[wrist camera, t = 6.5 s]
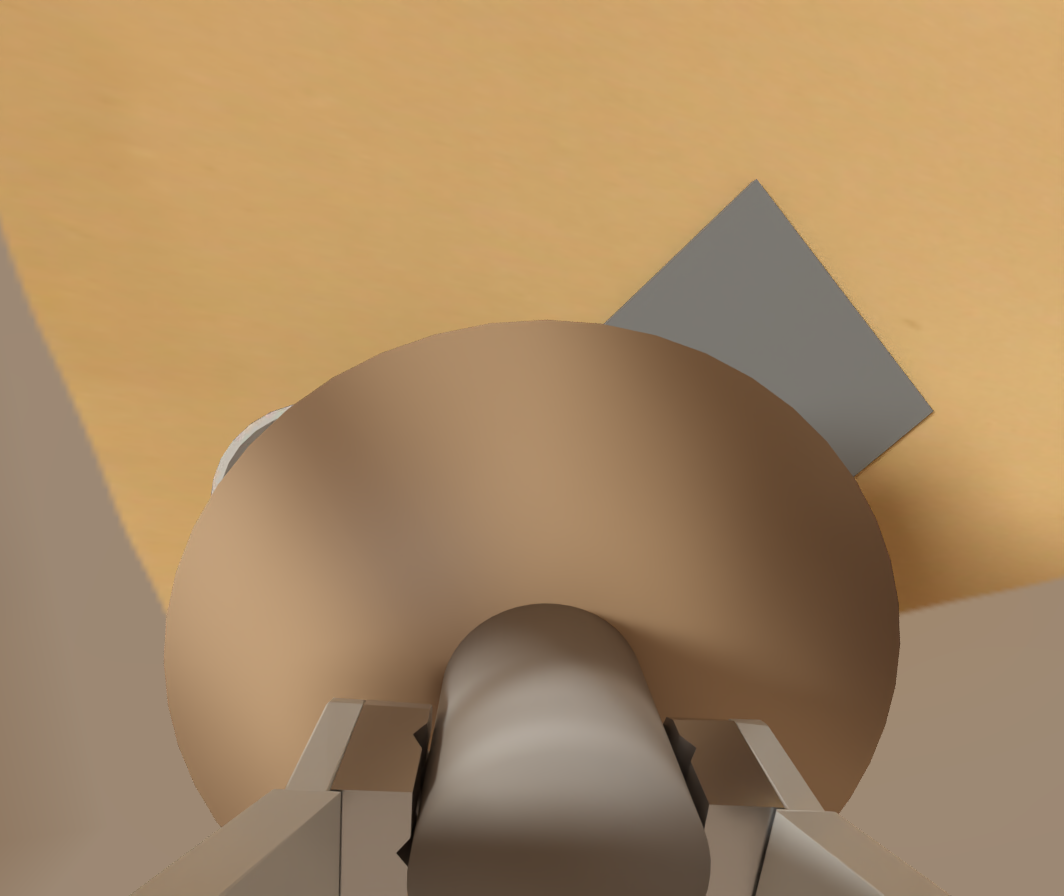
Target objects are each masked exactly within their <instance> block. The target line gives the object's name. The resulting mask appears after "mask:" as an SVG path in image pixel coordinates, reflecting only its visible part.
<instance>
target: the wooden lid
mask: <svg viewBox="0 0 1064 896" xmlns="http://www.w3.org/2000/svg"><path fill="white" fill-rule="evenodd" d="M899 634H900V633H899V604H898V597H897V592H896V587H895V581H894V576H893V570H892V565H891V560H890V557H889V554H888V551H887V549H886V546H885V543H884V540H883V537H882V534H881V531H880V528H879V526H878V523H877V520H876V518H875V516H874V514H873V512H872V510H871V508H870V506H869V505H868V503H867V501H866V499H865V497H864V495H863V493H862V491H861V489H860V488H859V486H858V484H857V482H856V480H855V478H854V477H853V476H852V474H851V473H850V472H849V470H848V469H847V468H846V466H845V465H844V464H843V462H842V461H841V460H840V458H839V457H838V456H837V454H836V453H835V452H834V450H833V449H832V448H831V446H830V445H829V443H828V442H827V441H826V440H825V439H824V438H823V437H822V436H821V435H820V434H819V433H818V432H817V431H816V430H815V429H814V428H813V427H812V426H811V425H810V424H809V423H808V422H807V421H806V420H805V419H804V418H803V417H802V416H801V415H800V414H799V413H798V412H797V411H796V410H795V409H794V408H793V407H791V406H790V405H789V404H787V403H786V402H784V401H783V400H782V399H780V398H779V397H778V396H776V395H775V394H774V393H772V392H771V391H769V390H768V389H767V388H765V387H764V386H763V385H761V384H760V383H759V382H757V381H756V380H754V379H753V378H752V377H750V376H748V375H746V374H744V373H742V372H740V371H738V370H737V369H735V368H733V367H731V366H729V365H727V364H725V363H723V362H721V361H720V360H718V359H716V358H714V357H712V356H710V355H708V354H706V353H704V352H701V351H698V350H695V349H693V348H690V347H687V346H684V345H682V344H679V343H676V342H673V341H670V340H668V339H665V338H662V337H659V336H657V335H652V334H648V333H643V332H638V331H633V330H629V329H624V328H619V327H615V326H610V325H605V324H597V323H583V322H569V321H555V320H537V321H521V322H505V323H490V324H485V325H480V326H475V327H470V328H465V329H460V330H455V331H450V332H445V333H440V334H435V335H432V336H429V337H426V338H423V339H420V340H417V341H415V342H412V343H409V344H406V345H403V346H400V347H397V348H394V349H391V350H389V351H386V352H383V353H380V354H378V355H377V356H375V357H373V358H371V359H369V360H367V361H365V362H363V363H361V364H359V365H357V366H355V367H353V368H351V369H349V370H347V371H345V372H343V373H341V374H339V375H337V376H335V377H333V378H332V379H330V380H329V381H327V382H326V383H324V384H323V385H322V386H320V387H319V388H317V389H316V390H314V391H313V392H312V393H310V394H309V395H307V396H306V397H304V398H303V399H301V400H300V401H299V402H297V403H296V404H294V405H293V406H291V407H290V408H289V409H287V410H286V411H285V412H284V413H283V414H282V415H281V416H280V417H279V418H278V419H277V420H276V421H275V422H273V423H272V424H271V425H270V426H269V427H268V428H267V429H266V430H265V431H264V432H263V433H262V434H261V435H260V436H259V437H257V438H256V439H255V440H254V441H253V442H252V443H251V444H250V445H249V446H248V447H247V449H246V450H245V451H244V453H243V454H242V455H241V456H240V458H239V459H238V460H237V461H236V463H235V464H234V465H233V466H232V468H231V469H230V470H229V471H228V473H227V474H226V475H225V476H224V478H223V479H222V480H221V481H220V483H219V484H218V485H217V487H216V489H215V491H214V492H213V494H212V496H211V498H210V499H209V501H208V503H207V505H206V506H205V508H204V510H203V511H202V513H201V515H200V517H199V518H198V520H197V522H196V524H195V525H194V527H193V530H192V532H191V535H190V537H189V540H188V542H187V545H186V548H185V550H184V553H183V555H182V558H181V561H180V563H179V566H178V568H177V571H176V575H175V579H174V584H173V589H172V593H171V598H170V603H169V607H168V612H167V616H166V633H165V650H164V669H165V679H166V689H167V699H168V707H169V711H170V714H171V719H172V723H173V726H174V730H175V734H176V738H177V742H178V746H179V749H180V751H181V753H182V756H183V758H184V761H185V763H186V765H187V768H188V770H189V773H190V775H191V777H192V780H193V782H194V784H195V786H196V788H197V790H198V791H199V793H200V795H201V796H202V798H203V799H204V801H205V803H206V805H207V806H208V808H209V809H210V811H211V813H212V815H213V817H214V818H215V820H216V821H217V823H218V824H219V825H220V826H221V827H223V826H224V825H225V824H227V823H228V822H229V821H231V820H232V819H233V818H235V817H236V816H237V815H239V814H240V813H241V812H243V811H244V810H246V809H247V808H248V807H250V806H251V805H252V804H254V803H255V802H256V801H258V800H259V799H260V798H262V797H263V796H264V795H266V794H267V793H269V792H270V791H271V790H273V789H285V787H286V785H287V783H288V781H289V779H290V777H291V775H292V773H293V771H294V769H295V767H296V765H297V763H298V761H299V759H300V757H301V755H302V753H303V751H304V749H305V747H306V745H307V743H308V741H309V739H310V737H311V735H312V732H313V730H314V728H315V726H316V724H317V722H318V720H319V718H320V716H321V714H322V712H323V710H324V708H325V706H326V704H327V703H328V702H329V701H330V700H331V699H332V698H346V699H360V700H380V701H393V702H406V703H419V704H432V729H431V734H430V740H429V745H428V750H429V757H428V763H427V768H426V773H425V779H424V784H423V789H422V795H421V800H420V805H419V811H418V816H417V821H416V827H415V832H414V837H413V843H412V848H411V853H410V859H409V864H408V869H407V893H408V896H706V893H707V890H708V885H709V879H710V870H711V857H710V850H709V844H708V840H707V837H706V834H705V831H704V828H703V825H702V823H701V820H700V818H699V815H698V813H697V810H696V807H695V805H694V802H693V800H692V797H691V795H690V792H689V790H688V787H687V785H686V782H685V779H684V777H683V774H682V772H681V769H680V767H679V764H678V762H677V759H676V756H675V754H674V751H673V749H672V746H671V744H670V741H669V739H668V736H667V734H666V731H665V728H664V726H663V723H664V721H665V719H666V717H680V718H703V719H725V720H729V719H755V720H761V721H763V722H764V723H766V724H767V725H768V726H769V728H770V729H771V731H772V732H773V734H774V735H775V737H776V738H777V740H778V741H779V743H780V744H781V746H782V747H783V749H784V750H785V752H786V753H787V755H788V756H789V758H790V759H791V761H792V762H793V764H794V765H795V767H796V768H797V770H798V771H799V773H800V774H801V776H802V777H803V779H804V780H805V782H806V783H807V785H808V786H809V788H810V789H811V791H812V792H813V794H814V795H815V797H816V798H817V800H818V801H819V803H820V804H821V806H822V807H823V809H824V810H825V811H830V812H836V813H838V814H839V813H840V811H841V810H842V808H843V807H844V805H845V804H846V803H847V802H848V800H849V799H850V797H851V796H852V794H853V792H854V790H855V789H856V787H857V785H858V783H859V781H860V780H861V778H862V776H863V774H864V773H865V771H866V769H867V767H868V765H869V764H870V762H871V759H872V756H873V754H874V752H875V749H876V747H877V744H878V742H879V739H880V737H881V734H882V732H883V729H884V727H885V724H886V720H887V716H888V712H889V708H890V705H891V701H892V697H893V693H894V689H895V684H896V675H897V666H898V657H899V648H900V635H899Z"/></svg>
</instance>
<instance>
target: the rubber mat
mask: <svg viewBox="0 0 1064 896" xmlns="http://www.w3.org/2000/svg"><path fill="white" fill-rule="evenodd" d="M604 324H605V325H610V326H615V327H619V328H624V329H629V330H633V331H638V332H643V333H648V334H652V335H657V336H659V337H662V338H665V339H668V340H670V341H673V342H676V343H679V344H682V345H684V346H687V347H690V348H693V349H695V350H698V351H701V352H704V353H706V354H708V355H710V356H712V357H714V358H716V359H718V360H720V361H721V362H723V363H725V364H727V365H729V366H731V367H733V368H735V369H737V370H738V371H740V372H742V373H744V374H746V375H748V376H750V377H752V378H753V379H754V380H756V381H757V382H759V383H760V384H761V385H763V386H764V387H765V388H767V389H768V390H769V391H771V392H772V393H774V394H775V395H776V396H778V397H779V398H780V399H782V400H783V401H784V402H786V403H787V404H789V405H790V406H791V407H793V408H794V409H795V410H796V411H797V412H798V413H799V414H800V415H801V416H802V417H803V418H804V419H805V420H806V421H807V422H808V423H809V424H810V425H811V426H812V427H813V428H814V429H815V430H816V431H817V432H818V433H819V434H820V435H821V436H822V437H823V438H824V439H825V440H826V441H827V442H828V443H829V445H830V446H831V448H832V449H833V450H834V452H835V453H836V454H837V456H838V457H839V458H840V460H841V461H842V462H843V464H844V465H845V466H846V468H847V469H848V470H849V472H850V473H851V474H852V476H853V477H854V476H855V475H856V474H858V473H859V472H860V471H861V470H862V469H864V468H865V467H866V466H867V465H869V464H870V463H871V462H872V461H873V460H875V459H876V458H877V457H878V456H879V455H881V454H882V453H883V452H884V451H886V450H887V449H888V448H889V447H890V446H892V445H893V444H894V443H895V442H896V441H898V440H899V439H900V438H901V437H903V436H904V435H905V434H906V433H907V432H909V431H910V430H911V429H912V428H913V427H915V426H916V425H917V424H918V423H920V422H921V421H922V420H923V419H924V418H926V417H927V416H928V415H929V414H930V413H932V412H933V410H932V409H931V407H930V406H929V405H928V403H927V402H926V401H925V399H924V398H923V397H922V395H921V394H920V393H919V392H918V390H917V389H916V388H915V386H914V385H913V384H912V382H911V381H910V380H909V378H908V377H907V376H906V374H905V373H904V372H903V371H902V369H901V368H900V367H899V365H898V364H897V363H896V361H895V360H894V359H893V357H892V356H891V355H890V353H889V352H888V351H887V350H886V348H885V347H884V346H883V344H882V343H881V342H880V340H879V339H878V338H877V336H876V335H875V334H874V332H873V331H872V330H871V329H870V327H869V326H868V325H867V323H866V322H865V321H864V319H863V318H862V317H861V315H860V314H859V313H858V312H857V310H856V309H855V308H854V306H853V305H852V304H851V302H850V301H849V300H848V298H847V297H846V296H845V294H844V293H843V292H842V291H841V289H840V288H839V287H838V285H837V284H836V283H835V281H834V280H833V279H832V277H831V276H830V275H829V273H828V272H827V271H826V270H825V268H824V267H823V266H822V264H821V263H820V262H819V260H818V259H817V258H816V256H815V255H814V254H813V252H812V251H811V250H810V249H809V247H808V246H807V245H806V243H805V242H804V241H803V239H802V238H801V237H800V235H799V234H798V233H797V231H796V230H795V229H794V228H793V226H792V225H791V224H790V222H789V221H788V220H787V218H786V217H785V216H784V214H783V213H782V212H781V211H780V209H779V208H778V207H777V205H776V204H775V203H774V201H773V200H772V199H771V197H770V196H769V195H768V193H767V192H766V191H765V190H764V188H763V187H762V186H761V184H760V183H759V182H758V180H757V179H756V180H754V181H753V182H751V183H750V184H749V185H748V186H747V187H746V188H745V189H744V190H743V191H742V192H741V193H740V194H739V195H738V196H737V197H736V198H735V199H734V200H733V201H732V202H730V203H729V204H728V205H727V206H726V207H725V208H724V209H723V210H722V211H721V212H720V213H719V214H718V215H717V216H716V217H715V218H714V219H713V220H712V221H711V222H710V223H709V224H708V225H706V226H705V227H704V228H703V229H702V230H701V231H700V232H699V233H698V234H697V235H696V236H695V237H694V238H693V239H692V240H691V241H690V242H689V243H688V244H687V245H686V246H685V247H684V248H682V249H681V250H680V251H679V252H678V253H677V254H676V255H675V256H674V257H673V258H672V259H671V260H670V261H669V262H668V263H667V264H666V265H665V266H664V267H663V268H662V269H661V270H660V271H659V272H657V273H656V274H655V275H654V276H653V277H652V278H651V279H650V280H649V281H648V282H647V283H646V284H645V285H644V286H643V287H642V288H641V289H640V290H639V291H638V292H637V293H636V294H635V295H633V296H632V297H631V298H630V299H629V300H628V301H627V302H626V303H625V304H624V305H623V306H622V307H621V308H620V309H619V310H618V311H617V312H616V313H615V314H614V315H613V316H612V317H611V318H609V319H608V320H607V321H606V322H605V323H604Z"/></svg>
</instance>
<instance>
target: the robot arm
mask: <svg viewBox="0 0 1064 896" xmlns="http://www.w3.org/2000/svg"><path fill="white" fill-rule="evenodd" d="M663 726H664V728H665V731H666V734H667V736H668V739H669V741H670V744H671V746H672V749H673V751H674V754H675V756H676V759H677V762H678V764H679V767H680V769H681V772H682V774H683V777H684V779H685V782H686V785H687V787H688V790H689V792H690V795H691V797H692V800H693V802H694V805H695V807H696V810H697V813H698V815H699V818H700V820H701V823H702V825H703V828H704V831H705V834H706V837H707V840H708V844H709V850H710V857H711V870H710V879H709V885H708V890H707V893H706V896H951V895H950V894H948V893H947V892H946V891H944V890H943V889H942V888H940V887H938V886H937V885H936V884H935V883H933V882H932V881H930V880H929V879H928V878H926V877H925V876H923V875H922V874H921V873H919V872H918V871H917V870H915V869H914V868H912V867H911V866H910V865H908V864H907V863H906V862H904V861H903V860H901V859H900V858H899V857H897V856H896V855H894V854H893V853H892V852H890V851H889V850H888V849H886V848H885V847H883V846H882V845H881V844H879V843H878V842H877V841H875V840H874V839H872V838H871V837H870V836H868V835H867V834H865V833H864V832H862V831H861V830H860V829H858V828H857V827H855V826H854V825H853V824H852V823H850V822H849V821H847V820H846V819H845V818H843V817H842V816H841V815H839V814H838V813H836V812H830V811H825V810H824V809H823V807H822V806H821V804H820V803H819V801H818V800H817V798H816V797H815V795H814V794H813V792H812V791H811V789H810V788H809V786H808V785H807V783H806V782H805V780H804V779H803V777H802V776H801V774H800V773H799V771H798V770H797V768H796V767H795V765H794V764H793V762H792V761H791V759H790V758H789V756H788V755H787V753H786V752H785V750H784V749H783V747H782V746H781V744H780V743H779V741H778V740H777V738H776V737H775V735H774V734H773V732H772V731H771V729H770V728H769V726H768V725H767V724H766V723H764V722H763V721H761V720H755V719H729V720H725V719H703V718H680V717H666V719H665V721H664V723H663ZM431 729H432V704H419V703H406V702H393V701H380V700H360V699H346V698H332V699H331V700H330V701H329V702H328V703H327V704H326V706H325V708H324V710H323V712H322V714H321V716H320V718H319V720H318V722H317V724H316V726H315V728H314V730H313V732H312V735H311V737H310V739H309V741H308V743H307V745H306V747H305V749H304V751H303V753H302V755H301V757H300V759H299V761H298V763H297V765H296V767H295V769H294V771H293V773H292V775H291V777H290V779H289V781H288V783H287V785H286V787H285V789H273V790H271V791H270V792H269V793H267V794H266V795H264V796H263V797H262V798H260V799H259V800H258V801H256V802H255V803H254V804H252V805H251V806H250V807H248V808H247V809H246V810H244V811H243V812H241V813H240V814H239V815H237V816H236V817H235V818H233V819H232V820H231V821H229V822H228V823H227V824H225V825H224V826H223V827H221V828H220V829H219V830H217V831H216V832H214V833H213V834H212V835H210V836H209V837H208V838H206V839H205V840H204V841H202V842H201V843H200V844H198V845H197V846H196V847H194V848H193V849H191V850H190V851H189V852H187V853H186V854H185V855H183V856H182V857H181V858H179V859H178V860H177V861H175V862H174V863H173V864H171V865H170V866H168V867H167V868H166V869H164V870H163V871H162V872H161V873H159V874H158V875H156V876H155V877H154V878H152V879H151V880H150V881H148V882H147V883H145V884H144V885H143V886H142V887H140V888H139V889H137V890H136V891H135V892H133V893H132V894H131V895H129V896H408V893H407V869H408V864H409V859H410V853H411V848H412V843H413V837H414V832H415V827H416V821H417V816H418V811H419V805H420V800H421V795H422V789H423V784H424V779H425V773H426V768H427V763H428V757H429V750H428V745H429V740H430V734H431Z"/></svg>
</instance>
